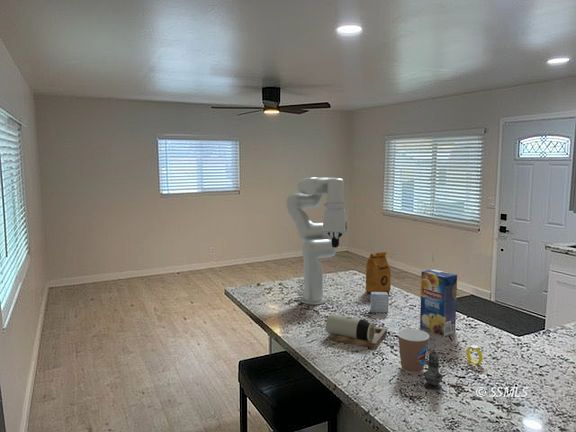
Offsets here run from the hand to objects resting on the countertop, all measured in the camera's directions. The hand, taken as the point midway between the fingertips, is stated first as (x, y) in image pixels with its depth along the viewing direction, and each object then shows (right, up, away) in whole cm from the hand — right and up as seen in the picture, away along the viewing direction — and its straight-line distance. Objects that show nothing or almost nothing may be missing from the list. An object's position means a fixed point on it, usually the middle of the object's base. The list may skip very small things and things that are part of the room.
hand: (335, 247), depth 191 cm
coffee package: (+28, -28, +41) cm, 57 cm away
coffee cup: (+21, -38, -48) cm, 64 cm away
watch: (+43, -37, -44) cm, 72 cm away
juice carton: (+41, -34, -13) cm, 55 cm away
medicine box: (+22, -31, +10) cm, 40 cm away
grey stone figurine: (+24, -39, -59) cm, 75 cm away
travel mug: (-5, -30, -18) cm, 35 cm away
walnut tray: (+6, -34, -20) cm, 40 cm away
